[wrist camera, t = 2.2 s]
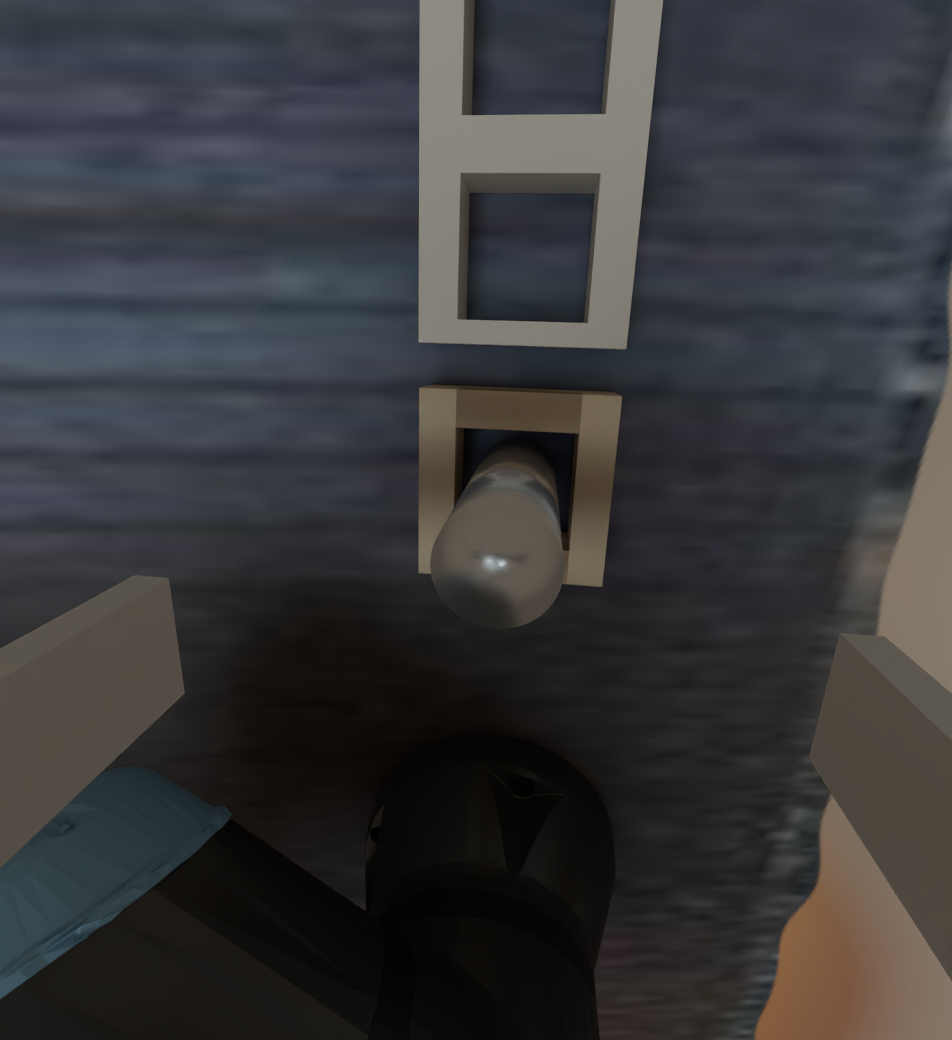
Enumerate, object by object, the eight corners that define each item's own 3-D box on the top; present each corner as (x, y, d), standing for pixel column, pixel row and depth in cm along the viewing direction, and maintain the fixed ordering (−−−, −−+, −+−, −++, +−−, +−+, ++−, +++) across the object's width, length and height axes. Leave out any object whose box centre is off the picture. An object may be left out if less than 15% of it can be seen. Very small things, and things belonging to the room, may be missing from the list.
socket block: (596, 564, 30) (602, 587, 27) (430, 552, 31) (418, 572, 28) (614, 392, 27) (622, 396, 24) (431, 384, 28) (419, 387, 25)
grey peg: (568, 493, 29) (587, 598, 17) (500, 526, 30) (469, 648, 18) (534, 424, 28) (526, 480, 16) (464, 460, 29) (406, 539, 17)
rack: (617, 349, 27) (626, 348, 24) (431, 343, 28) (418, 342, 25) (657, -49, 22) (674, -108, 20) (435, -41, 23) (420, -96, 20)
